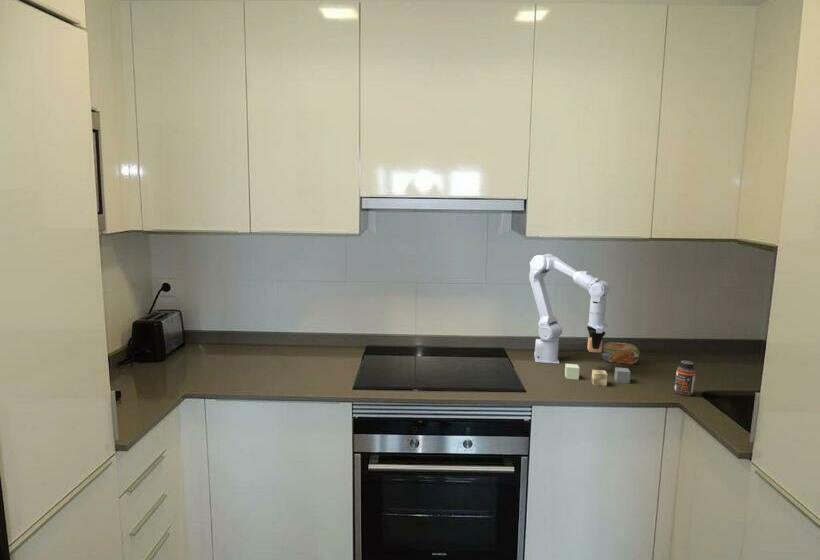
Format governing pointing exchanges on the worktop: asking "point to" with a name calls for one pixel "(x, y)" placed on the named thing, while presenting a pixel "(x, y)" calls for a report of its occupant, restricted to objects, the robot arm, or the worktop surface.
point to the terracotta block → (592, 347)
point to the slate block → (622, 375)
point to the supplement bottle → (685, 378)
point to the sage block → (572, 371)
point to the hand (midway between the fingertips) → (594, 346)
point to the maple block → (599, 377)
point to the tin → (620, 352)
